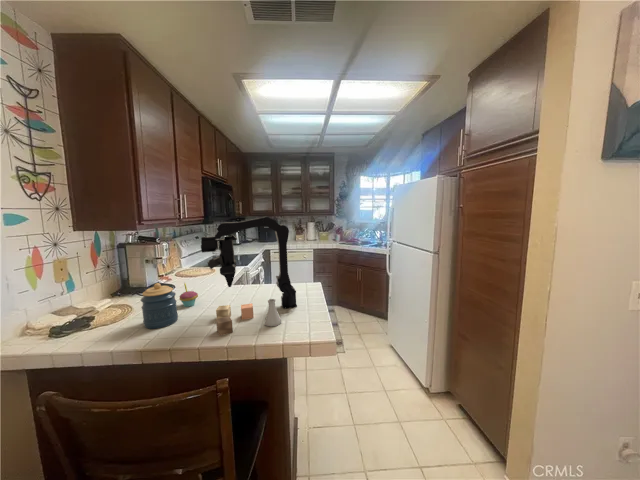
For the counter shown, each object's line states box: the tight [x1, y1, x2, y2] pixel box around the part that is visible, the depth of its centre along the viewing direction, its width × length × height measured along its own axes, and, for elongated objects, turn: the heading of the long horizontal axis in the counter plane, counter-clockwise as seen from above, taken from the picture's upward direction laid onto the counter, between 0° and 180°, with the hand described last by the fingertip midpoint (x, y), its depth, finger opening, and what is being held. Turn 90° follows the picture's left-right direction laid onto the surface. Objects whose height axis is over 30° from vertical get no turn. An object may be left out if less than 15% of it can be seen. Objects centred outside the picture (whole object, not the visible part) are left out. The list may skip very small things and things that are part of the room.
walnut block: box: [215, 316, 234, 337], centre depth 105 cm, size 5×5×5 cm
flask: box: [264, 298, 282, 327], centre depth 111 cm, size 7×7×10 cm
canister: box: [140, 282, 179, 330], centre depth 115 cm, size 13×13×18 cm
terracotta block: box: [240, 302, 254, 321], centre depth 119 cm, size 5×5×5 cm
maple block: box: [215, 304, 232, 319], centre depth 118 cm, size 5×5×5 cm
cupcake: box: [178, 281, 199, 308], centre depth 135 cm, size 9×8×12 cm
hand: (230, 284), depth 121 cm, fingers open, 9 cm apart
